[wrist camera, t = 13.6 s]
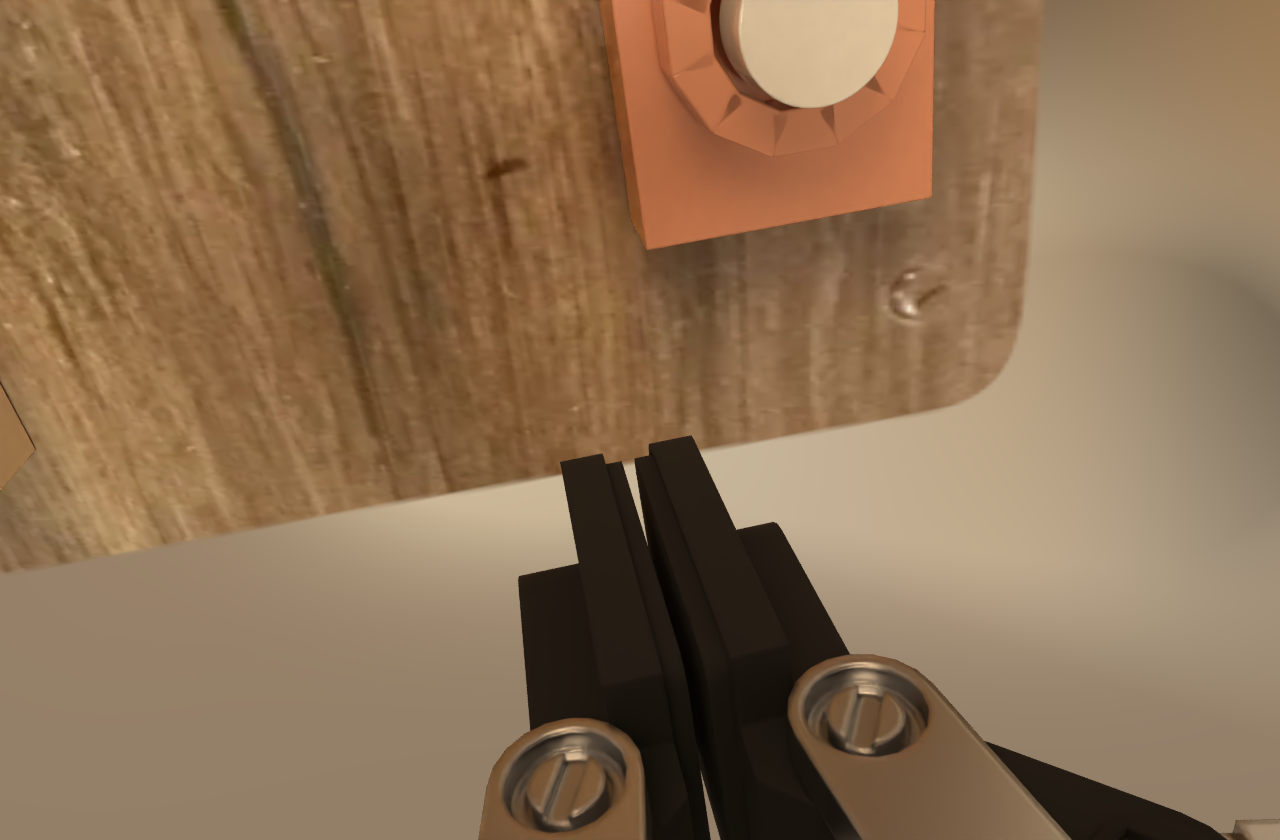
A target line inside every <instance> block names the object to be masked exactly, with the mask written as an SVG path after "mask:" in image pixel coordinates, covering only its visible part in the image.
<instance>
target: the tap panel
mask: <svg viewBox="0 0 1280 840" xmlns="http://www.w3.org/2000/svg"><path fill="white" fill-rule="evenodd" d="M34 451H35V448H34V446H33V444H32V443H31V441H30V439H29V437H28V435H27V433H26V431H25V429H24V428H23V426H22V424H21V422H20V420H19V418H18V416H17V414H16V413H15V411H14V409H13V407H12V405H11V403H10V401H9V399H8V398H7V396H6V394H5V392H4V390H3V388H2V386H1V385H0V491H1V489H2V488H3V487H4V486H5V485H6V484H7V482H8V481H9V480H10V479H11V478H12V477H13V476H14V474H15V473H16V472H17V471H18V470H19V469H20V467H21V466H22V465H23V464H24V463H25V462H26V460H27V459H28V458H29V457H30V456H31V455H32V453H33V452H34Z"/></svg>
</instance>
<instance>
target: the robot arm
mask: <svg viewBox="0 0 1280 840" xmlns="http://www.w3.org/2000/svg"><path fill="white" fill-rule="evenodd" d="M560 464H561V469H562V475H563V480H564V485H565V491H566V496H567V502H568V507H569V512H570V518H571V523H572V529H573V534H574V540H575V544H576V550H577V556H578V561H579V563H578V564H574V565H569V566H565V567H560V568H555V569H550V570H546V571H541V572H536V573H532V574H527V575H522V576H519V579H518V584H519V598H520V609H521V621H522V634H523V646H524V658H525V670H526V683H527V694H528V707H529V719H530V731H529V732H527V733H525V734H524V735H523V736H521V737H520V738H519V739H518V740H516V741H515V742H514V743H513V744H512V745H511V746H509V747H508V748H507V749H506V750H505V751H504V753H503V754H502V756H501V757H500V758H499V760H498V761H497V762H496V764H495V765H494V767H493V769H492V772H491V775H490V778H489V781H488V784H487V787H486V793H485V799H484V806H483V812H482V819H481V825H480V831H479V838H478V840H711V839H710V832H709V825H708V818H707V811H706V805H705V799H704V791H703V785H702V779H701V773H702V777H703V780H704V783H705V787H706V790H707V794H708V797H709V801H710V804H711V808H712V811H713V814H714V818H715V822H716V825H717V828H718V832H719V836H720V839H721V840H1280V819H1266V820H1236V822H1235V826H1234V830H1233V833H1218V832H1217V831H1215V830H1214V829H1213V828H1211V827H1210V826H1208V825H1206V824H1204V823H1201V822H1199V821H1197V820H1195V819H1193V818H1191V817H1189V816H1187V815H1185V814H1183V813H1181V812H1178V811H1175V810H1172V809H1170V808H1167V807H1164V806H1162V805H1159V804H1156V803H1153V802H1150V801H1148V800H1145V799H1142V798H1140V797H1137V796H1134V795H1131V794H1129V793H1126V792H1123V791H1120V790H1118V789H1115V788H1112V787H1110V786H1107V785H1104V784H1101V783H1099V782H1096V781H1093V780H1090V779H1088V778H1085V777H1082V776H1079V775H1077V774H1074V773H1071V772H1068V771H1066V770H1063V769H1060V768H1057V767H1055V766H1052V765H1049V764H1047V763H1043V762H1041V761H1038V760H1036V759H1033V758H1030V757H1027V756H1025V755H1022V754H1019V753H1016V752H1014V751H1011V750H1008V749H1006V748H1003V747H1000V746H997V745H995V744H992V743H989V742H986V741H984V740H983V739H982V738H981V737H980V736H979V735H978V734H977V732H976V731H975V730H974V729H973V728H972V727H971V726H970V725H969V724H968V722H967V721H966V720H965V719H964V718H963V717H962V716H961V714H960V713H959V712H958V711H957V710H956V709H955V708H954V707H953V705H952V704H951V703H950V702H949V701H948V700H947V699H946V698H945V696H944V695H943V694H942V693H941V692H940V691H939V690H938V688H937V687H936V686H935V685H934V684H933V683H932V682H931V681H930V680H928V679H927V678H926V677H925V676H924V675H922V674H921V673H920V672H919V671H918V670H916V669H914V668H912V667H910V666H908V665H906V664H904V663H902V662H899V661H898V660H895V659H891V658H886V657H882V656H877V655H870V654H869V655H868V654H866V655H865V654H863V655H862V654H861V655H860V654H850V653H849V652H848V650H847V648H846V646H845V644H844V643H843V641H842V639H841V637H840V635H839V633H838V632H837V630H836V628H835V626H834V625H833V623H832V621H831V619H830V617H829V615H828V613H827V611H826V610H825V608H824V606H823V604H822V602H821V601H820V599H819V597H818V595H817V593H816V591H815V590H814V588H813V586H812V585H811V582H810V580H809V579H808V577H807V575H806V573H805V571H804V570H803V568H802V566H801V564H800V562H799V560H798V559H797V557H796V555H795V553H794V551H793V550H792V548H791V546H790V544H789V543H788V540H787V539H786V537H785V535H784V533H783V531H782V530H781V528H780V527H779V525H778V524H777V523H775V522H771V523H766V524H762V525H757V526H752V527H747V528H743V529H738V530H736V528H735V526H734V524H733V522H732V520H731V518H730V516H729V513H728V512H727V509H726V507H725V505H724V503H723V501H722V499H721V496H720V494H719V492H718V490H717V488H716V486H715V484H714V482H713V480H712V477H711V475H710V473H709V471H708V469H707V467H706V464H705V462H704V460H703V458H702V456H701V454H700V452H699V450H698V447H697V445H696V443H695V441H694V439H693V437H692V436H686V437H681V438H676V439H671V440H666V441H661V442H656V443H651V444H649V456H644V457H639V458H635V468H636V475H637V480H638V487H639V493H640V500H641V506H642V512H643V518H644V524H645V531H646V537H647V542H648V545H647V542H646V539H645V536H644V532H643V529H642V526H641V523H640V520H639V516H638V513H637V510H636V506H635V503H634V500H633V497H632V493H631V490H630V487H629V484H628V480H627V477H626V474H625V470H624V467H623V464H622V461H620V462H615V463H610V464H605V460H604V457H603V454H597V455H592V456H587V457H582V458H577V459H572V460H568V461H563V462H560ZM700 770H701V771H700Z"/></svg>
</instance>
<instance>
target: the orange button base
mask: <svg viewBox="0 0 1280 840" xmlns="http://www.w3.org/2000/svg"><path fill="white" fill-rule="evenodd" d="M599 5H600V11H601V18H602V25H603V32H604V39H605V45H606V52H607V59H608V66H609V73H610V79H611V86H612V93H613V100H614V107H615V113H616V120H617V127H618V134H619V141H620V147H621V154H622V161H623V168H624V175H625V181H626V188H627V195H628V202H629V209H630V215H631V221H632V223H633V225H634V227H635V228H636V230H637V232H638V234H639V236H640V238H641V240H642V242H643V243H644V245H645V247H646V249H647V250H652V249H658V248H663V247H668V246H674V245H679V244H684V243H690V242H695V241H701V240H706V239H711V238H717V237H722V236H727V235H733V234H738V233H744V232H749V231H754V230H760V229H765V228H770V227H776V226H781V225H787V224H792V223H797V222H803V221H808V220H813V219H819V218H824V217H830V216H835V215H840V214H846V213H851V212H856V211H862V210H867V209H873V208H878V207H883V206H889V205H894V204H900V203H905V202H910V201H916V200H921V199H926V198H930V197H931V196H932V146H933V79H934V11H935V0H898V22H897V28H896V33H895V36H894V40H893V43H892V46H891V48H890V51H889V53H888V55H887V57H886V59H885V61H884V62H883V64H882V66H881V67H880V68H879V70H878V71H877V73H876V74H875V75H874V76H873V78H872V79H871V80H870V81H869V82H868V83H867V84H866V85H865V86H864V87H863V88H862V89H860V90H859V91H858V92H856V93H855V94H853V95H852V96H850V97H849V98H847V99H845V100H843V101H841V102H838V103H836V104H833V105H830V106H826V107H822V108H798V107H793V106H790V105H787V104H784V103H782V102H780V101H778V100H776V99H774V98H772V97H770V96H768V95H767V94H765V93H763V92H761V91H759V90H758V89H756V88H754V87H753V86H751V85H750V84H748V83H747V82H746V81H745V80H744V79H743V78H742V77H740V76H739V74H738V73H737V72H736V71H735V69H734V68H733V66H732V65H731V63H730V61H729V60H728V58H727V55H726V53H725V50H724V47H723V44H722V40H721V35H720V25H719V15H720V5H721V0H599Z"/></svg>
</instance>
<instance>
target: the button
mask: <svg viewBox="0 0 1280 840" xmlns="http://www.w3.org/2000/svg"><path fill="white" fill-rule="evenodd" d="M897 22H898V0H721V5H720V15H719V25H720V35H721V40H722V44H723V47H724V50H725V53H726V55H727V58H728V60H729V61H730V63H731V65H732V66H733V68H734V69H735V71H736V72H737V73H738V74H739V76H740V77H742V78H743V79H744V80H745V81H746V82H747V83H748V84H750V85H751V86H753V87H754V88H756V89H758V90H759V91H761V92H763V93H765V94H767V95H768V96H770V97H772V98H774V99H776V100H778V101H780V102H782V103H784V104H787V105H790V106H793V107H798V108H822V107H826V106H830V105H833V104H836V103H838V102H841V101H843V100H845V99H847V98H849V97H850V96H852V95H853V94H855V93H856V92H858V91H859V90H860V89H862V88H863V87H864V86H865V85H866V84H867V83H868V82H869V81H870V80H871V79H872V78H873V76H874V75H875V74H876V73H877V71H878V70H879V68H880V67H881V66H882V64H883V62H884V61H885V59H886V57H887V55H888V53H889V51H890V48H891V46H892V43H893V40H894V36H895V33H896V28H897Z"/></svg>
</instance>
